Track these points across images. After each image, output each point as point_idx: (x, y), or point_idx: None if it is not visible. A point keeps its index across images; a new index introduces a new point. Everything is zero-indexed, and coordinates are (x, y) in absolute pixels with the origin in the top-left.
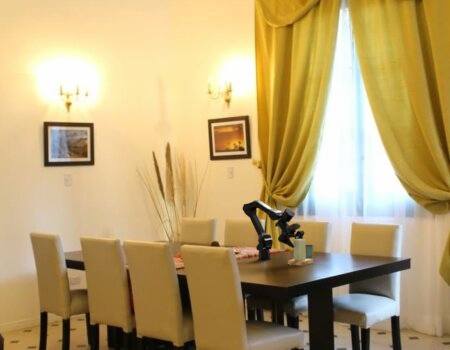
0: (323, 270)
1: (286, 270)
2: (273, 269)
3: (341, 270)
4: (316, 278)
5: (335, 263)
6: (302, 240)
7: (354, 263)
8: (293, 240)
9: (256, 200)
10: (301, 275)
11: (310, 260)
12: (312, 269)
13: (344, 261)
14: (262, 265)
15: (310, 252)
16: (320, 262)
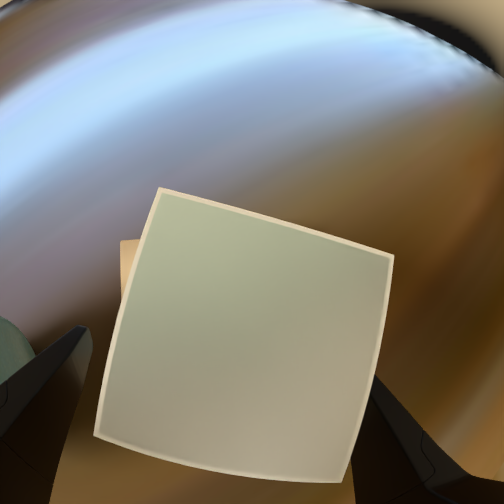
0: (364, 67)
1: (476, 235)
2: (488, 324)
3: (312, 16)
4: (472, 66)
5: (101, 105)
6: (264, 222)
7: (83, 44)
8: (339, 459)
9: None
10: (486, 118)
11: None
12: (379, 119)
13: (21, 113)
14: None
15: (3, 332)
16: (84, 213)
